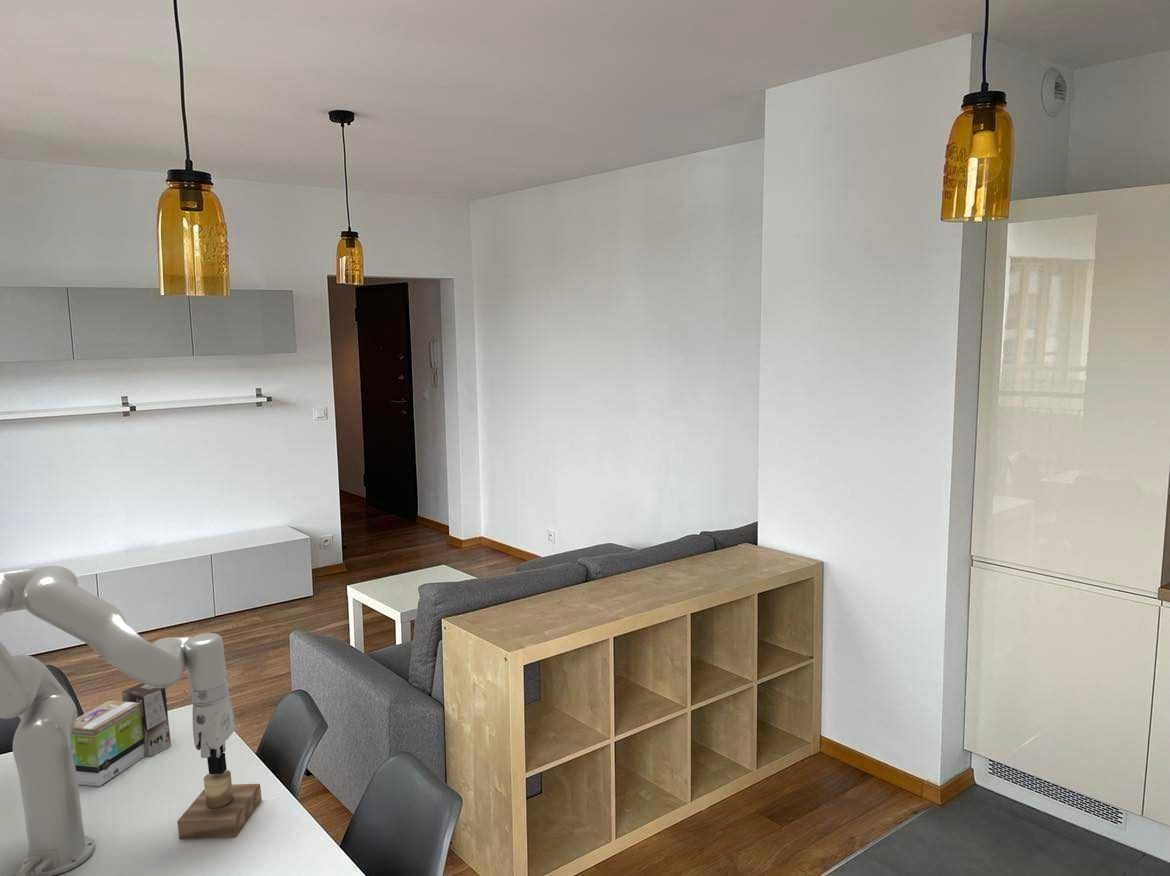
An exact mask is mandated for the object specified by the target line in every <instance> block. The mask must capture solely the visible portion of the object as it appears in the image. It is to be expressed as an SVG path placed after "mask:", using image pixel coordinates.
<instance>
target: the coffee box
mask: <svg viewBox="0 0 1170 876" xmlns="http://www.w3.org/2000/svg"><path fill="white" fill-rule="evenodd" d="M121 698H122V701H123V702H136V703H140V706H141V717H142V728H143V738H144V748H145V756H148V757H152V756H155V755H156V754H158V753H160V752H162V751H164V750H166V749H168V748H171V746H172V743H171V741H172V740H171V733H170V724H169V723H170V722H169V711H168V704H167V703H168V701H167V694H166V688H154V687H150V686H148V685H145V684H143V683H141V682H139V683H138V684H136V685H132V686H131V687H130V688H127V689H125V690H123V691H122V690H121Z"/></svg>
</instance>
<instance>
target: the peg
mask: <svg viewBox="0 0 1170 876" xmlns="http://www.w3.org/2000/svg"><path fill="white" fill-rule="evenodd" d="M231 773H232V772H231V771H230V770H229V769H226V770H225V771H224V773H223V774H209V773H208V774H206V775H205V776H204V777H203V784H204V786H203V787H204V789H205V796H206V806H207V807H208V808H210V809H218V808H222V807H226V806H227V805H229V804H230V803H231V802H232V801H233V791H232V785H233V782H232V774H231Z"/></svg>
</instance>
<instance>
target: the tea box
mask: <svg viewBox="0 0 1170 876" xmlns="http://www.w3.org/2000/svg"><path fill="white" fill-rule="evenodd" d="M71 747H72V752H73V756H74V761H75V767H76V774H77V780H78V786H79V785H80V786H81V785H82V786H90V787H101V786H102V785H104V784H105V783H107V782H108V781H110V780H111V779H113V778H114V777H115V776H117V775H118V774H120V773H122V772H123V771H124V770H126V769H128V768H129V767H131V766H132V765H134V764H135V763H138V762H139V761H140V760H142V759H144V758H145V756H146V755H145V748H144V738H143V728H142V717H141V706H140V703H136V702H123V700H122V701H120V700H119V701H118V700H107V701H105V702H103V703H101V704H100V705H97V706H95V707H94V708H92V709H91V710H89V711H87V712H86V713H85V712H84V713H83V714H82V715H79V716H77V719H76V722H75V725H74V728H73V731H72V734H71Z"/></svg>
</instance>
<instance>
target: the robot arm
mask: <svg viewBox="0 0 1170 876" xmlns="http://www.w3.org/2000/svg"><path fill="white" fill-rule="evenodd" d="M78 584H79V583H78V579H77V576H76V574H75V573H74V572H73V571H72V570H71V569H69V568H67V567H65V566H61V565H60V566H59V565H45V566H37V567H29V568H25V569H24V568H23V569H16V570H15V569H14V570H8V571H2V572H1V571H0V618H1V617H2V616H3V614H4V613H11V612H16V611H17V612H18V611H22V610H23V611H24V610H26V611H27V612H28V613H29V614H31V615H32V616H34V617H36V618H38V619H40V620H42V621H43V622H45V623H47V624H49V625H51V626H53V627H55V628H57V629H59V630H61V631H63V633H64V632H65V633H67V634H68V635H70V636H73V638H75V639H77V640H79V641H81V642H83V643H85V644H87V645H88V646H89V647H90V648H91V649H92V650H93V651H95V652H96V653H97V655H99V656H101V658H103V659H104V660H105V661H107V663H109V664H110V665H111V666H112V667H114V668H115V669H117V670H118V671H120V672H121V673H122V674H125V675H126V676H129V678H132V679H133V680H136V681H137V682H139V683H143V684H145V685H148V686H150V687H154V688H165V689H166V688H169V687H172V686H174V685H175V684H176V683H178V682H179V680H180V679H181V678H182V676H183V674H184V673H183V672H184V670H185V671H186V673H187V681H188V690H189V691H188V692H189V699H190V700H189V701H190V704H191V705H192V732H193V733H192V735H193V742H194V748H195V749H196V750H197V751H200V758H201V759H205V758H206V759H207V769H208V774H223V773H224V771H225V770H228V769H227V759H226V758H227V757H226V747H227V746H226V741H227V740H228V739H229V738H230V737H231V736H232V734H233V733H234V732H235V730H236V724H235V723H236V722H235V715H234V709H233V704H232V699H231V697H230V693H229V686H228V675H227V668H226V659H225V648H224V647H225V646H224V640H223V638H222V636H221V635H220V634H218V633H215V632H206V633H200V634H197V635H194V636H174V637H173V636H172V637H163V638H159V639H157V640H155V641H154V642H150V641H148V640H147V639H145V638H144V637H142V636H141V635H140V634H139V633H138V632H136V631H135V630H134V629H133V628H132V627H131V625H130V624H129V622H128V621H127V619H126V618H125V616H124V614H123V613H122V611H121V610H120V609H119V608H118V607H116V606H115V605H113V604H111V603H110V602H108V601H106V600H104V599H102V598H100V597H98V596H97V595H95V594H93V593H91V592H89V591H87V590H86V589H84V588H83V587H80V586H79V585H78ZM17 717H18V718H19V719H20V721H19V724H18V726H17V728H16V730H15V733H14V735H13V740H12V754H13V758H14V762H15V766H16V769H17V773H18V778H19V783H20V784H19V785H20V791H21V792H20V793H21V797H22V804H23V813H24V819H25V820H24V821H25V826H26V834H27V841H28V849H29V851H28V852H27V855H26V857H25V858H24V859H23V861H22V863H21V864H22V865H21V868H19V870H18V871H17V872H16V874H15V875H16V876H56V875H58V874H59V875H60V874H63V873H65V872H67V871H70V870H72V869H74V868H75V867H78V866H80V865H81V864H82V863H84V862H85V861H86V860H88V859H89V857H91V856H92V854H93V853H94V851H95V848H96V847H95V841H94V839H93V838H92V837H90V836H88V835H85V829H84V822H83V813H82V805H81V797H80V790H79V789H80V787H79V784H78V780H77V774H76V767H75V761H74V756H73V752H72V747H71V734H72V731H73V728H74V725H75V722H76V719H77V718H78V710H77V706H76V704H75V701H74V700H73V698H72V697H71V696H70V694H69V693H68V692H67V691H66V690H65V688H64V687H63V686H62V685H61V683H60V682H59V681H58V680H57V678H56V677H55V676H54V675H53V673H52V672H51V670H50V669H49V668H48V667H47V666H46V665H45V664H44V663H43V662H42V661H41V660H40V659H37V658H36V657H34V656H32V655H28V654H15V655H12V654H11V653H10V652H9V650H8V649H7V647H6V645H4V644H3V643H2V642H1V641H0V719H3V720H4V719H5V720H6V719H14V718H17Z"/></svg>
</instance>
